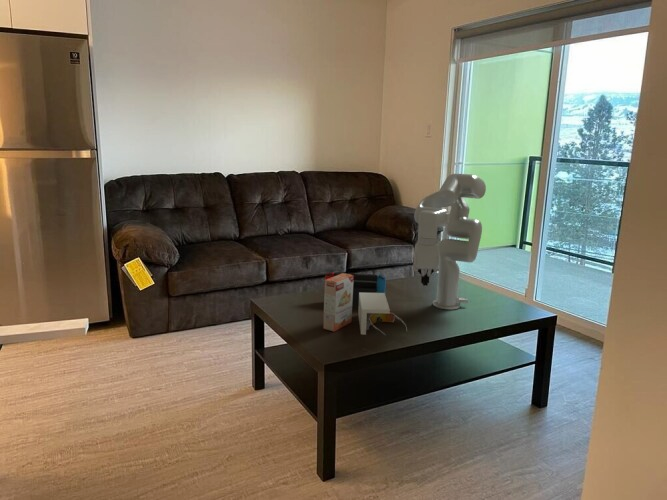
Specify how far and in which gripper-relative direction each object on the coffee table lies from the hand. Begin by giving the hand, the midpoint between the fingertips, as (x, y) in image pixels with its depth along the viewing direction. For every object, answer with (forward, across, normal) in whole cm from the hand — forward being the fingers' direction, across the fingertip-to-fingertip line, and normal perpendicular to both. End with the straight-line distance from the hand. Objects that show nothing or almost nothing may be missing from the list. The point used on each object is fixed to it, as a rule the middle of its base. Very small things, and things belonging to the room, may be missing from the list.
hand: (424, 284), depth 216 cm
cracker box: (+18, +36, +3) cm, 40 cm away
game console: (+18, +28, -26) cm, 42 cm away
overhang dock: (+17, +22, +1) cm, 28 cm away
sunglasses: (+18, +15, +3) cm, 24 cm away
